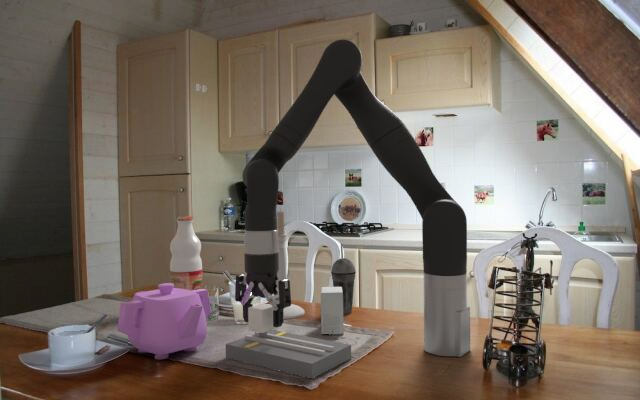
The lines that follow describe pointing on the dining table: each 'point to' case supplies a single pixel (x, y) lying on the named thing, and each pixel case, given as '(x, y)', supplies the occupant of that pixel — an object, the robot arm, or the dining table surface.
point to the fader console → (289, 352)
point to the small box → (332, 310)
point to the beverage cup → (344, 280)
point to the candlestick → (292, 310)
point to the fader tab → (261, 319)
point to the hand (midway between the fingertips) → (262, 323)
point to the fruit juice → (185, 256)
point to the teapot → (165, 320)
